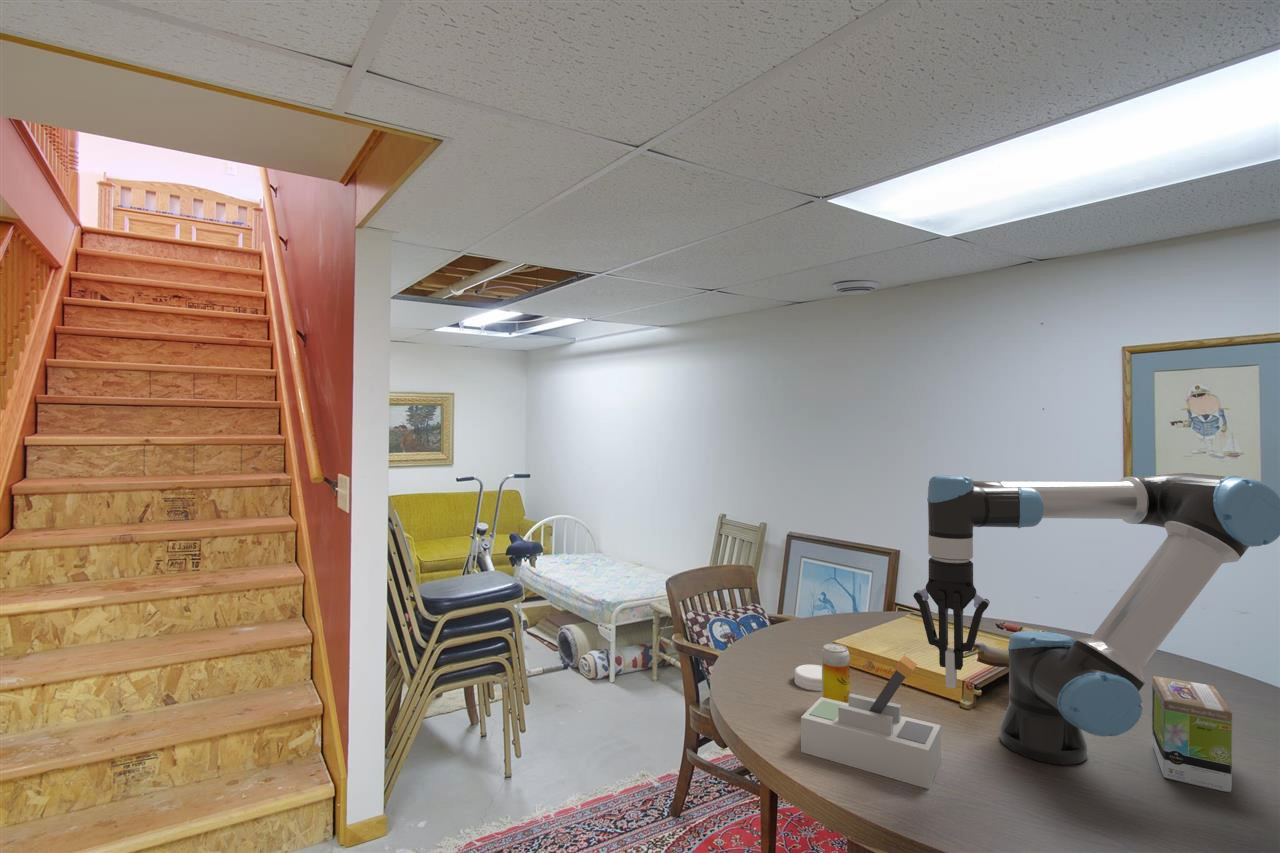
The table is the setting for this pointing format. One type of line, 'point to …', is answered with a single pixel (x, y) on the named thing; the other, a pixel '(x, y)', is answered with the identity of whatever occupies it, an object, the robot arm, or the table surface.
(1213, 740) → the tea box
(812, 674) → the white short cylinder
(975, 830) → the table surface
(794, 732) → the table surface
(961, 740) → the table surface
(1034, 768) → the table surface
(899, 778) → the breaker block
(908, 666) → the lever
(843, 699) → the beer can
